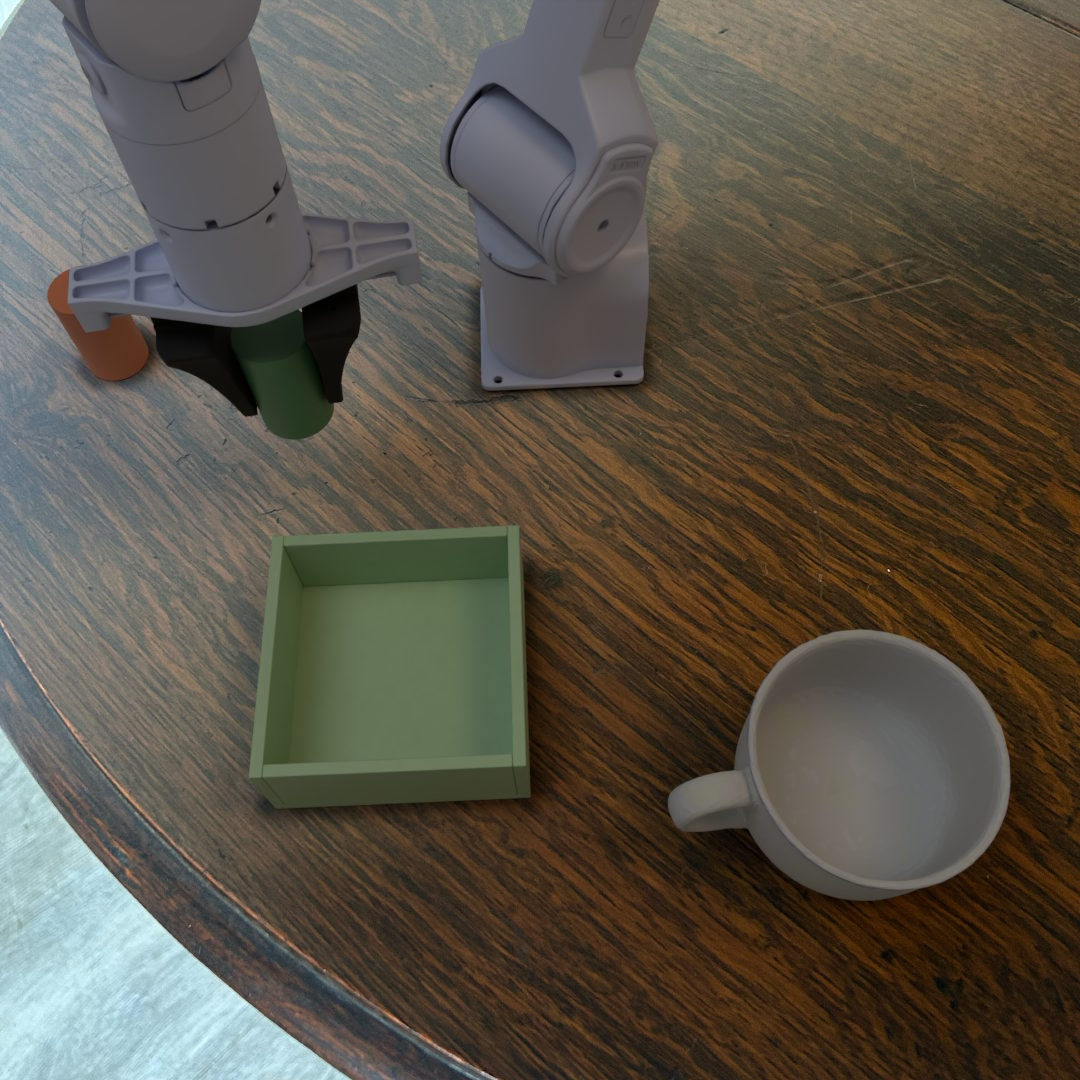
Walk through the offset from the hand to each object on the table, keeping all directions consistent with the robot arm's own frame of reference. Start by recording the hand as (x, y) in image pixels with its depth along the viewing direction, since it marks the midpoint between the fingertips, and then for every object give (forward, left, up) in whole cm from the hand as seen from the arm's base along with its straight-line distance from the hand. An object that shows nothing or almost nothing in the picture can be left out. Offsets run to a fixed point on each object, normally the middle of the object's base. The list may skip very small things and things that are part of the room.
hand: (293, 393), depth 53 cm
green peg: (0, 0, -1) cm, 1 cm away
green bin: (-5, +12, -8) cm, 16 cm away
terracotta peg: (+13, -10, -8) cm, 18 cm away
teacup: (-24, +19, -9) cm, 32 cm away
